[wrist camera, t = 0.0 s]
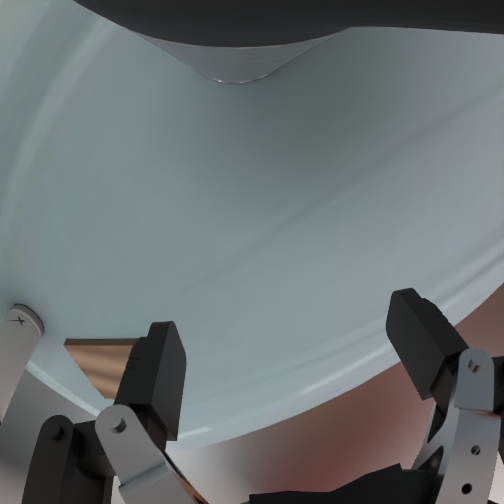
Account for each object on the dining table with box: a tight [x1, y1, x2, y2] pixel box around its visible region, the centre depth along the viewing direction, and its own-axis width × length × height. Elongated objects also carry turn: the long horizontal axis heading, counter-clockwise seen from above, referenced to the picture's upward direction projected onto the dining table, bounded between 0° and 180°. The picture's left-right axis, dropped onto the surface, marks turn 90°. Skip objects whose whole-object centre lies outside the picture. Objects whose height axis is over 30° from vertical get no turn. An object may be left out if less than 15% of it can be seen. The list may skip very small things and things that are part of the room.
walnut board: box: [64, 339, 139, 399], centre depth 37 cm, size 14×14×1 cm
